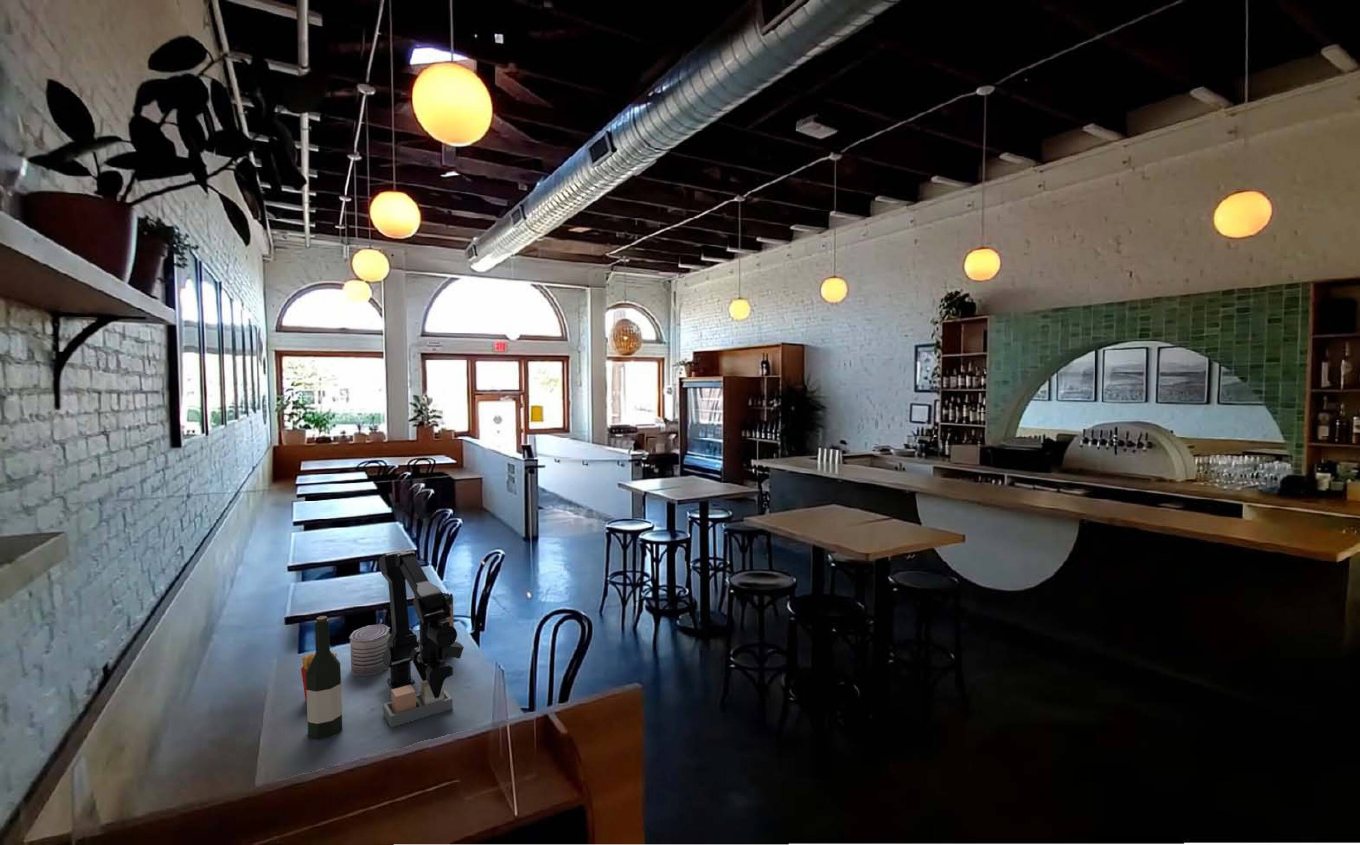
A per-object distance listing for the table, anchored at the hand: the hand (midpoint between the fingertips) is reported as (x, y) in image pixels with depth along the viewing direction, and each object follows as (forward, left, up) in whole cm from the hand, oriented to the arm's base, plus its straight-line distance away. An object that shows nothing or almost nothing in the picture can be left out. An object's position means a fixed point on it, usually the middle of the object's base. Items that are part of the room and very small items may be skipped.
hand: (432, 692), depth 180 cm
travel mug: (-34, +13, -5) cm, 37 cm away
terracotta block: (0, -7, -3) cm, 8 cm away
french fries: (-25, -24, -5) cm, 35 cm away
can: (-38, -8, -5) cm, 39 cm away
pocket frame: (0, -4, -4) cm, 6 cm away
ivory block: (0, 0, -3) cm, 3 cm away
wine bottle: (-4, -26, -5) cm, 26 cm away
